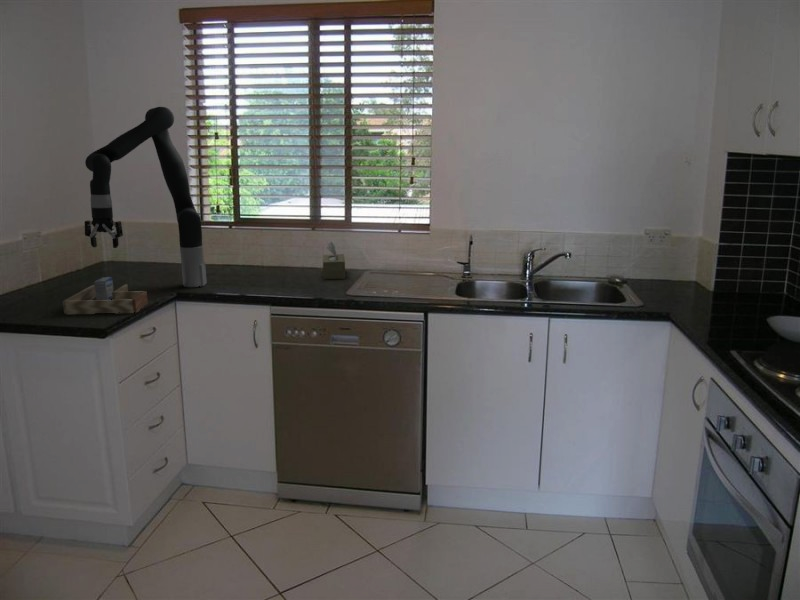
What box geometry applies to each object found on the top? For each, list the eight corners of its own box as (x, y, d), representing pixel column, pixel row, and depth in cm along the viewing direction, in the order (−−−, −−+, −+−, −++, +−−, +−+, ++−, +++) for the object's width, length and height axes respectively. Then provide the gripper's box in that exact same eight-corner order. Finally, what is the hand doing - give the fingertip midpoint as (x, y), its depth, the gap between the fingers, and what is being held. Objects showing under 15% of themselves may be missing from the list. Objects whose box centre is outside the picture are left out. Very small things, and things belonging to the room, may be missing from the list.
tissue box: (323, 271, 315) (322, 238, 311) (344, 270, 316) (343, 238, 312) (323, 279, 297) (322, 245, 293) (345, 279, 298) (344, 244, 294)
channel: (158, 295, 270) (157, 283, 268) (136, 313, 243) (134, 299, 242) (93, 296, 268) (92, 284, 267) (64, 314, 242) (62, 301, 241)
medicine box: (108, 302, 259) (105, 281, 257) (96, 302, 259) (93, 281, 257) (114, 297, 267) (112, 276, 265) (103, 298, 267) (100, 277, 264)
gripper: (123, 205, 260) (126, 246, 264) (89, 204, 261) (92, 245, 265) (114, 207, 253) (117, 249, 256) (78, 206, 254) (82, 248, 257)
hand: (104, 247), depth 260 cm, fingers open, 8 cm apart
